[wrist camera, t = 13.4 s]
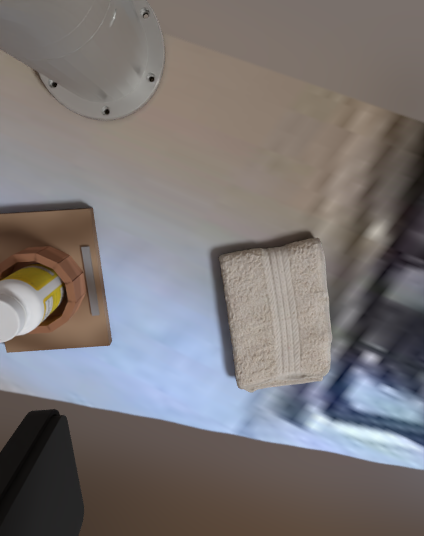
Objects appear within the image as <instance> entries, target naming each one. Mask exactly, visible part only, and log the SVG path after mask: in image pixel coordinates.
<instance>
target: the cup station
mask: <svg viewBox="0 0 424 536" xmlns="http://www.w3.org/2000/svg"><path fill="white" fill-rule="evenodd" d="M36 262H38V263H40V264H43V265H45V266H47V267H49V268H52V269H53V270H54V271H55V272H56V273H57V274H58V276H59V277H60V278H61V279H62V281H63V282H64V283H65V286H66V292H67V295H66V297H65V299H64V300H63V302H62V303H61V304H60V305H59V306H58V307H57V308H56V309H55V310H54V311H53V312H52V313H51V314H50V315H49V316H48V317H47V318H46V319H45V320H43V321H42V322H41V323H40V324H39V325H38V326H37V327H36V328H35V329H34V330H32V331H30V332H29V333H26V334H24V335H19V336H15V337H13V338H12V339H10V340H8V341H6V342H5V347H6V351H7V353H8V352H23V351H37V350H52V349H66V348H81V347H95V346H110V344H111V342H112V338H111V331H110V324H109V317H108V310H107V303H106V296H105V289H104V282H103V275H102V269H101V262H100V255H99V248H98V241H97V234H96V227H95V220H94V213H93V208H81V209H65V210H49V211H32V212H16V213H0V280H2V279H4V278H6V277H7V276H9V275H11V274H13V273H14V272H16V271H18V270H20V269H22V268H23V267H25V266H27V265H29V264H32V263H36Z"/></svg>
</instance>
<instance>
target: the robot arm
mask: <svg viewBox="0 0 424 536" xmlns="http://www.w3.org/2000/svg"><path fill="white" fill-rule="evenodd" d="M145 14H148V15H149V16H148V18H144V15H145ZM0 49H1V50H3V51H4V52H6V53H8V54H9V55H11V56H13V57H14V58H16V59H18V60H19V61H21V62H22V63H24V64H26V65H27V66H29V67H31V68H32V69H34V70H36V71H37V72H38V74H39V76H40V78H41V80H42V82H43V83H44V85H45V86H46V88H47V89H48V91H49V92H50V93H51V94H52V95H53V96H54V97H55V98H56V99H57V101H59V102H60V103H61V104H62V105H64V106H65V107H66V108H68V109H69V110H71V111H73V112H75V113H77V114H79V115H81V116H84V117H86V118H90V119H95V120H116V119H121V118H124V117H127V116H129V115H131V114H133V113H135V112H136V111H138V110H139V109H140V108H142V107H143V106H144V105H145V104H146V103H147V102H148V101H149V100H150V99H151V98H152V96H153V94H154V93H155V91H156V89H157V88H158V86H159V83H160V80H161V77H162V75H163V69H164V64H165V46H164V40H163V34H162V31H161V28H160V24H159V22H158V20H157V17H156V15H155V13H154V11H153V10H152V8H151V6H150V5H149V4H148V2H147V0H0ZM151 77H153V78H154V81H153V82H150V81H149V80H150V78H151ZM54 83H57V86H56V87H54ZM106 110H109V111H110V113H109V114H108V115H107V114H106V113H105V112H106ZM83 516H84V505H83V499H82V494H81V489H80V484H79V479H78V474H77V468H76V463H75V458H74V453H73V447H72V442H71V437H70V432H69V427H68V421H67V418H66V416H64V415H60V414H59V412H58V411H57V410H55V409H53V410H39V411H31V412H29V413H28V414H27V415H26V417H25V418H24V419H23V421H22V422H21V424H20V425H19V426H18V428H17V429H16V431H15V432H14V434H13V435H12V437H11V438H10V439H9V441H8V442H7V444H6V445H5V447H4V448H3V449H2V451H1V452H0V536H78V535H79V532H80V529H81V526H82V522H83Z"/></svg>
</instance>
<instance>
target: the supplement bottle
mask: <svg viewBox="0 0 424 536" xmlns="http://www.w3.org/2000/svg"><path fill="white" fill-rule="evenodd" d="M66 295H67V292H66V286H65V283H64V282H63V281H62V279H61V278H60V277H59V276H58V274H57V273H56V272H55V271H54V270H53V269H52V268H49V267H47V266H45V265H43V264H40V263H38V262H36V263H32V264H29V265H27V266H25V267H23V268H22V269H20V270H18V271H16V272H14V273H13V274H11V275H9V276H7V277H6V278H4V279H2V280H0V342H6V341H8V340H10V339H12V338H13V337H15V336H19V335H24V334H26V333H29V332H30V331H32V330H34V329H35V328H36V327H37V326H38V325H39V324H40V323H41V322H42V321H43V320H45V319H46V318H47V317H48V316H49V315H50V314H51V313H52V312H53V311H54V310H55V309H56V308H57V307H58V306H59V305H60V304H61V303H62V302H63V300H64V299H65V297H66Z"/></svg>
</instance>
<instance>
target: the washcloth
mask: <svg viewBox="0 0 424 536" xmlns="http://www.w3.org/2000/svg"><path fill="white" fill-rule="evenodd" d="M321 244H322V243H321V241H320V239H319V238H314V239H313V238H310V239H306V240H301V241H298V242H297V241H296V242H293V243H290V244H286V245H285V246H281V247H274V248H268V249H262V248H254V249H249V250H243V251H237V252H232V253H227V254H223V255H220V257H218V258H219V262H220V266H221V273H222V274H221V276H222V279H223V284H224V292H225V301H226V304H227V312H228V319H229V320H228V324H229V327H230V329H229V330H230V335H231V342H232V347H233V357H234V360H233V361H234V365H235V376H236V382H237V386H238V388H240V389H244V390H246V391H248V392H254V391H256V390H258V389H263V388H267V387H277V386H284V385H293V384H302V383H309V382H315V381H322V380H323V376H325V375H326V374H327V373H328V372H329V369H330V362H331V357H330V348H331V341H332V332H331V324H330V315H329V297H328V290H327V282H326V265H325V257H324V252H323V249H322V245H321Z"/></svg>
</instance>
